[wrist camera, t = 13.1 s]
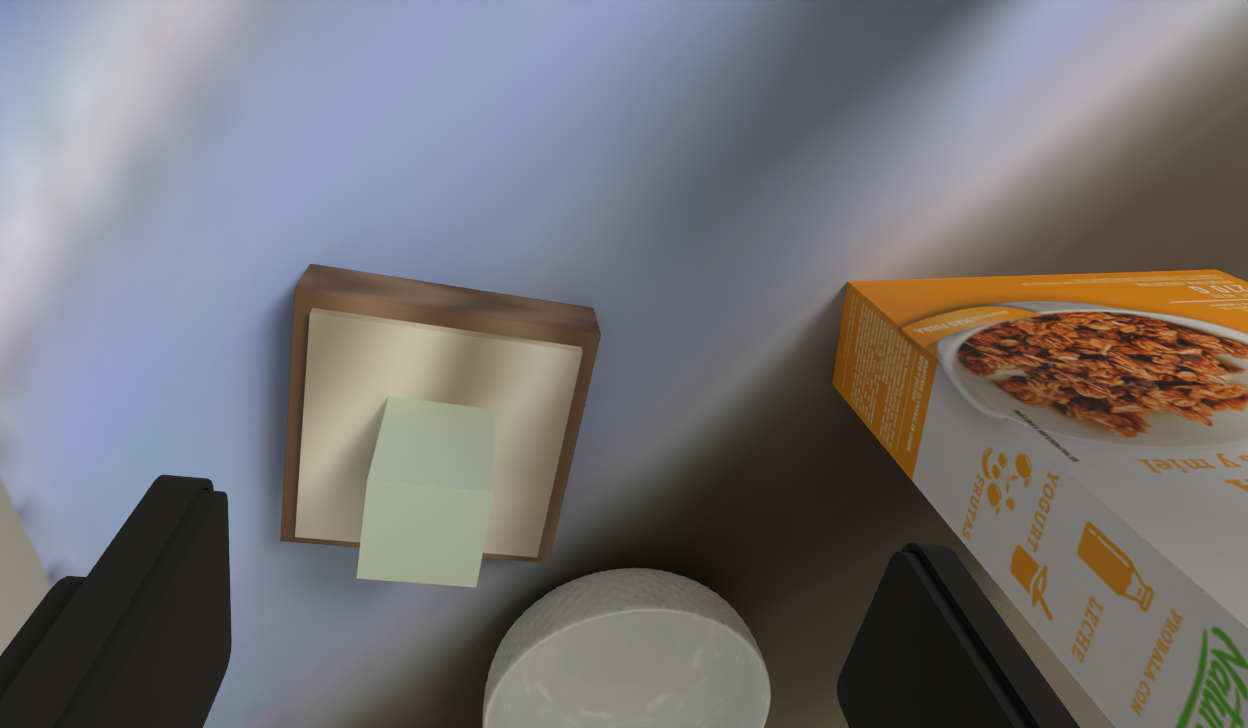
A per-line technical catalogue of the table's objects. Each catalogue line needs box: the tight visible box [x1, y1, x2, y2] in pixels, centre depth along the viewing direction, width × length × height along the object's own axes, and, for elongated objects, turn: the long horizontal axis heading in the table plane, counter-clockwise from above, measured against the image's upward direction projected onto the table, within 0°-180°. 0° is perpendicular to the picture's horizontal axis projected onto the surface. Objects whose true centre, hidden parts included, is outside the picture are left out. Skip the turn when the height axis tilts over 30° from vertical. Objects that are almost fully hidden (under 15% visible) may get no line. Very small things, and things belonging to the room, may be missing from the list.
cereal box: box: [832, 270, 1248, 728], centre depth 32 cm, size 22×6×30 cm, turn 89°
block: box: [357, 396, 495, 588], centre depth 36 cm, size 5×5×7 cm
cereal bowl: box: [483, 568, 771, 728], centre depth 48 cm, size 17×17×7 cm
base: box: [280, 264, 601, 563], centre depth 41 cm, size 14×14×4 cm
